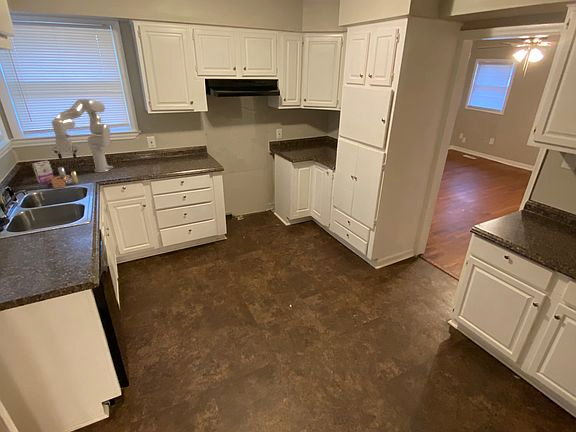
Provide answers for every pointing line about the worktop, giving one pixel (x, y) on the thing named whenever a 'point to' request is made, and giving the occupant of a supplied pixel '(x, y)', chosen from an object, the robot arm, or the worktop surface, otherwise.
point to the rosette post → (61, 179)
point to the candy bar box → (43, 171)
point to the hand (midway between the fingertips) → (67, 158)
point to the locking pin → (74, 177)
